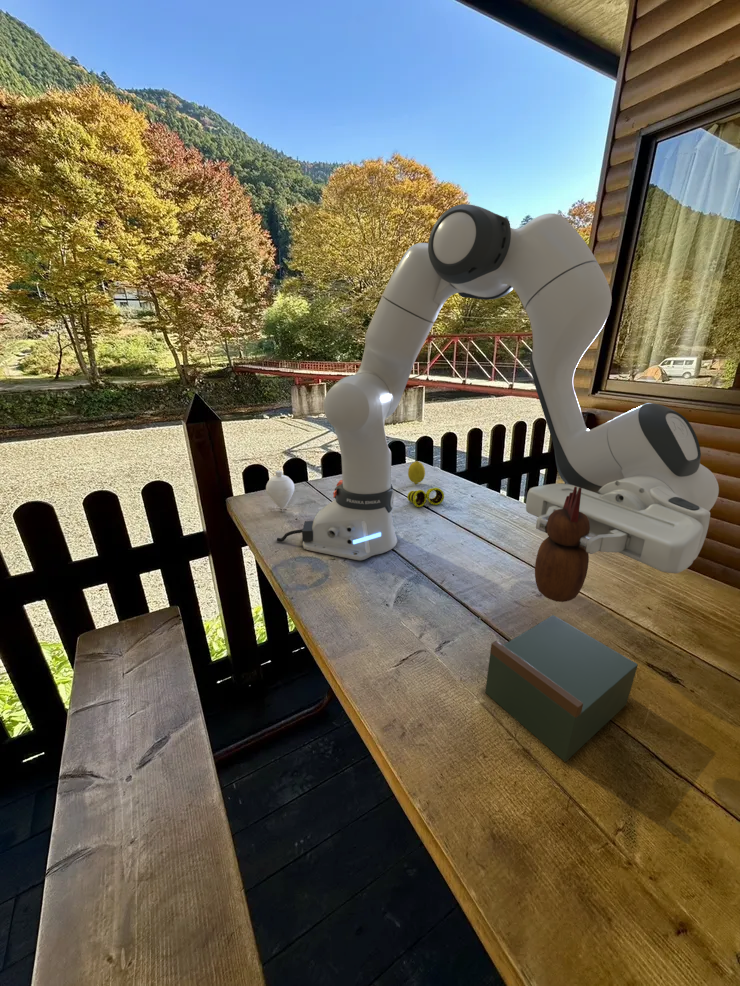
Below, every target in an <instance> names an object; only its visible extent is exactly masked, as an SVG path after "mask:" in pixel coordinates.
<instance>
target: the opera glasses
mask: <svg viewBox="0 0 740 986" xmlns="http://www.w3.org/2000/svg"><path fill="white" fill-rule="evenodd" d="M432 492H435V496H434V497H433V498H431V497H430V494H431V493H432ZM444 499H445V492H444V491H443V490H442V489H441V488H439V487H432V488H429V489H427V490H426V491H424V490H423V489H417V490H411V491H409V492H408V494H407V501H408V502H410V503H412V504H413V505H414V506H415V507H417V508H421V507H423V506H424V505H426V502H427V501H428V503H429V504H431V505H434V506H437V505H440V504H442V503H443V502H444Z"/></svg>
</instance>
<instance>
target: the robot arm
mask: <svg viewBox="0 0 740 986" xmlns="http://www.w3.org/2000/svg"><path fill="white" fill-rule="evenodd" d="M513 290H514V292H515V293H516V295H517V297H518V298H519V300H520V302H521V305H522V306H523V309H524V311H525V312H526V314H527V317H528V320H529V324H530V328H531V334H532V335H531V336H532V351H531V354H530V357H529V368H530V372H531V377H532V381H533V384H534V387H535V390H536V393H537V397H538V400H539V403H540V406H541V410H542V413H543V416H544V419H545V422H546V426H547V428H548V431H549V434H550V438H551V441H552V445H553V452H554V458H555V466H556V469H557V473H558V475H559V477H560V479H561V480H562V481H563V483H560V482H559V483H557V482H556V483H550V484H549V483H548V484H543V485H538V486H533V487H530V488H529V490H528V491H527V494H526V500H525V511H526V512H527V514H530V515H532V516H534V517H536V522H535V528H536V529H535V530H537V531H541V532H542V533H545V534H547V531H546V528H547V522H548V518H549V516H550V514H551V513H553V512H554V511H555V510H558V509H563V507H564V503H565V500H566V497H567V496H569V494H570V493H573V490H574V487H577V492H578V489H579V488H581V498H580V507H579V512H582V513H583V514H585V515H586V516H587V517H588V520H589V523H590V531H589V533H587V535H583V536H581V538H580V544H579V546H578V547H579V549H581V550H583V551H585V552H587V553H588V554H589V555H593V554H595V553H598V552H601V553H619V554H620V555H623V556H625V557H627V558H630V559H632V560H634V561H636V562H639V563H641V564H644V565H645V566H648V567H650V568H652V569H655V570H657V571H659V572H662V573H665V574H680V573H681V572H683V571H685V570H687V569H688V568H690V567H691V566H692V565H693V564H694V561H695V560H697V558H698V556H699V554H700V552H701V550H702V548H703V546H704V543H705V540H706V538H707V534H708V529H709V526H710V519H711V512H710V511H711V509H713V507H714V505H715V504H716V502H717V500H718V497H719V493H720V487H719V483H718V480H717V477H716V476H715V474H714V473H713V472H712V471H711V470H710V469H709V468H708V467H706V466H704V465H703V464H701V457H702V451H701V446H700V443H699V439H698V437H697V434H696V432H695V430H694V428H693V426H692V425H691V423H690V422H689V420H688V419H687V418H686V417H685V416H684V415H682V414H681V413H679V412H678V411H676V410H674V409H672V408H671V407H667V406H665V405H663V404H660V403H659V404H658V403H652V402H646V403H644V404H642V405H640V406H638V407H636V408H632V409H631V410H628V411H627V412H624V413H622V414H620V415H617V416H616V417H613V419H611V420H607V422H605V423H602V424H600V425H597V426H596V427H593V428H591V429H589V428H587V426H586V423H585V419H584V417H583V413H582V409H581V406H580V404H579V401H578V398H577V394H576V391H575V388H574V376H575V372H576V368H577V367H578V364H579V362H580V361H581V359H582V357H583V356H584V355H585V353H586V351H587V350H588V349H589V347H590V346H591V345H592V343H593V342H594V341H595V339H596V338H597V337H598V336H599V334H600V332H601V331H602V329H603V328H604V325H605V324H606V322H607V319H608V317H609V315H610V310H611V306H612V302H613V301H612V300H613V299H612V291H611V287H610V285H609V282H608V279H607V277H606V275H605V273H604V271H603V269H602V268H601V266H600V264H599V262H598V260H597V259H596V257H595V254H593V252H592V250H591V248H590V247H589V246H588V244H587V243H586V242H585V239H584V238H583V237H582V236H581V234H580V233H579V232H578V231H577V229H575V228H574V226H573V225H572V224H571V223H570V222H569V220H567V218H565V217H564V216H562V215H561V214H558V213H544V214H541V215H538V216H536V217H534V218H533V219H531V220H529V221H527V223H525V224H524V225H523V226H521V227H519V228H513V227H512V226H511V223H510V221H509V218H507V217H506V216H503V215H500V214H498V213H495V212H493V211H490V210H489V209H486V208H484V207H481V206H478V205H474V204H468V203H461V204H457V205H454V206H452V207H449V208H448V209H446V211H444V212H443V213H442V214H441V215H440V216H439V217H438V219H437V220H436V222H435V223H434V224H433V227H432V228H431V231H430V234H429V238H428V242H418V243H415V244H412V245H411V246H410V247H409V248H408V249H407V250H406V252H405V253H404V255H403V256H402V258H401V259H400V261H399V262H398V264H397V265H396V268H394V271H393V273H392V274H391V276H390V278H389V280H388V282H387V284H386V286H385V288H384V290H383V292H382V295H381V297H380V299H379V302H378V304H377V306H376V309H375V311H374V313H373V316H372V317H371V320H370V323H369V325H368V327H367V330H366V332H365V335H364V343H365V344H364V349H363V354H362V358H361V362H360V365H359V368H358V370H357V371H356V373H355V374H352V375H347V376H345V377H342V378H341V379H339V380H338V381H337V382H336V383H335V384H333V385H332V386H331V388H330V389H329V390H328V391H327V392H326V394H325V397H324V400H323V412H324V415H325V417H326V419H327V421H328V423H329V424H330V425H331V426H332V427H333V430H334V432H335V435H336V438H337V442H338V446H339V451H340V456H341V457H340V458H341V477H342V478H341V479H340V480H339V481H338V482H337V483H336V487H335V488H334V491H333V495H332V496H333V500H332V501H330V502H328V504H326V505H325V506H323V507H322V508H321V509H320V510H319V511H318V512H317V513H316V514H315V517H314V518H313V520H305V521H304V523H303V527H302V528H300V529H294V530H290V531H288V532H286V533H285V534H283V536H282V537H276V542H284V541H285V540H286V539H287V538H288V537H289V536H292V535H295V534H296V535H297V534H301V538H302V548H303V549H304V550H307V551H311V552H316V553H321V554H324V555H325V554H326V555H331V556H335V557H340V558H346V559H350V560H354V561H364V560H367V559H368V558H371V557H373V556H377V555H381V554H384V553H386V552H390V551H391V550H393V549H395V547H396V546H397V544H398V537H397V534H396V531H395V526H394V519H393V508H394V486H393V484H392V451H391V449H390V448H389V445H388V441H387V440H388V439H387V436H386V430H385V429H386V428H385V421H386V419H387V418H389V417H391V416H392V415H393V414H394V412H395V411H396V410H397V408H398V406H399V404H400V402H401V399H402V396H403V394H404V392H405V389H406V386H407V384H408V382H409V379H410V375H411V373H412V370H413V367H414V365H415V362H416V360H417V358H418V356H419V354H420V352H421V350H422V348H423V346H424V344H425V342H426V340H427V338H428V336H429V334H430V332H431V330H432V328H433V326H434V324H435V322H436V321H437V318H438V317H439V314H440V312H441V309H442V308H443V306H444V305H445V303H446V302H447V300H448V299H449V298H450V297H452V296H453V295H456V294H458V295H459V296H460V297H461V298H468V299H475V300H481V301H482V300H483V301H492V300H497V299H501V298H503V297H505V296H507V295H508V294H509V293H511V292H512V291H513Z"/></svg>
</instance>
